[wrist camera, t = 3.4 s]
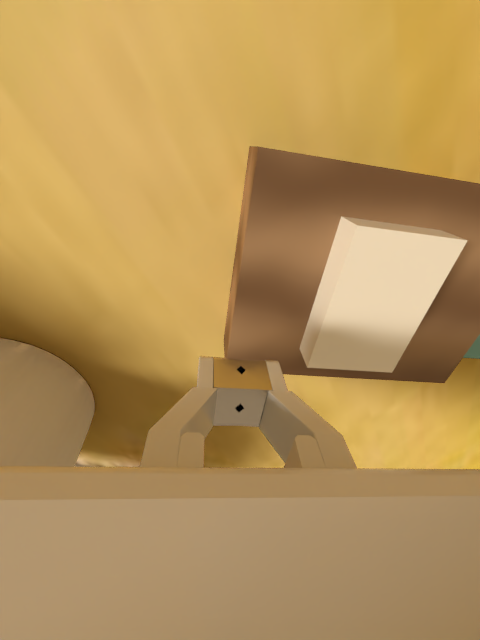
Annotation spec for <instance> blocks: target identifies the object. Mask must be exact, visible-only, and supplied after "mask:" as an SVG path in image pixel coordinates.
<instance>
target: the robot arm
mask: <svg viewBox="0 0 480 640" xmlns="http://www.w3.org/2000/svg"><path fill="white" fill-rule="evenodd" d="M213 426H252V427H259V429H260V430H261V431H262V433H263V434H264V435H265V437H266V438H267V439H268V441H269V442H270V443H271V445H272V446H273V447H274V449H275V450H276V451H277V453H278V454H279V456H280V457H281V458H282V460H283V461H284V462H285V466H284V468H204V439H205V438H206V437H207V435H208V434H209V432H210V431H211V429H212V428H213ZM0 640H480V469H357V467H356V465H355V463H354V460H353V458H352V456H351V454H350V451H349V449H348V447H347V445H346V442H345V440H344V438H343V436H342V435H341V434H340V433H339V432H338V431H337V430H336V429H335V428H333V427H332V426H331V425H330V424H329V423H328V422H326V421H325V420H324V419H323V418H322V417H321V416H319V415H318V414H317V413H316V412H315V411H314V410H313V409H311V408H310V407H309V406H308V405H307V404H306V403H304V402H303V401H302V400H301V399H300V398H299V397H298V396H296V395H295V394H294V393H293V392H292V391H288V390H287V387H286V383H285V380H284V377H283V374H282V370H281V367H280V364H279V362H278V361H272V360H265V361H263V360H244V359H232V358H220V357H205V356H200V357H199V367H198V379H197V387H192V388H191V389H190V390H189V391H188V392H187V393H186V394H185V395H184V396H183V397H182V398H181V399H180V400H179V401H178V402H177V403H176V404H175V405H174V406H173V407H172V408H171V409H170V410H169V411H168V412H167V413H166V414H165V415H164V416H163V417H162V418H161V419H160V420H159V421H158V422H157V423H156V424H155V425H154V426H152V427H151V428H150V429H149V431H148V435H147V439H146V443H145V447H144V451H143V455H142V459H141V463H140V467H45V466H0Z"/></svg>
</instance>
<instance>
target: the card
mask: <svg viewBox="0 0 480 640" xmlns="http://www.w3.org/2000/svg"><path fill="white" fill-rule="evenodd" d="M467 241H468V240H465V239H463V238H460V237H458V236H455V235H452V234H450V233H447V232H444V231H442V230H436V229H429V228H422V227H415V226H407V225H400V224H393V223H386V222H379V221H371V220H364V219H357V218H350V217H342V216H341V219H340V222H339V225H338V228H337V232H336V235H335V238H334V241H333V244H332V247H331V250H330V254H329V257H328V260H327V263H326V266H325V269H324V272H323V276H322V279H321V282H320V285H319V288H318V291H317V295H316V298H315V301H314V304H313V307H312V310H311V313H310V317H309V320H308V323H307V326H306V329H305V332H304V335H303V339H302V342H301V345H300V348H299V349H300V351H301V354H302V356H303V358H304V361H305V363H306V366H307V368H323V369H340V370H356V371H373V372H390V373H392V372H393V370H394V368H395V367H396V365H397V363H398V361H399V360H400V358H401V356H402V354H403V353H404V351H405V349H406V347H407V346H408V344H409V342H410V340H411V339H412V337H413V335H414V333H415V332H416V330H417V328H418V326H419V325H420V323H421V321H422V319H423V318H424V316H425V314H426V312H427V311H428V309H429V307H430V305H431V304H432V302H433V300H434V299H435V297H436V295H437V293H438V292H439V290H440V288H441V286H442V285H443V283H444V281H445V279H446V278H447V276H448V274H449V272H450V271H451V269H452V267H453V265H454V264H455V262H456V260H457V258H458V257H459V255H460V253H461V251H462V250H463V248H464V246H465V244H466V243H467Z"/></svg>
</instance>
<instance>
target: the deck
mask: <svg viewBox="0 0 480 640" xmlns="http://www.w3.org/2000/svg"><path fill="white" fill-rule="evenodd" d="M341 216H342V217H350V218H357V219H364V220H371V221H379V222H386V223H393V224H400V225H407V226H415V227H422V228H429V229H436V230H442V231H444V232H447V233H450V234H452V235H455V236H458V237H460V238H463V239H465V240H468V241H467V243H466V244H465V246H464V248H463V250H462V251H461V253H460V255H459V257H458V258H457V260H456V262H455V264H454V265H453V267H452V269H451V271H450V272H449V274H448V276H447V278H446V279H445V281H444V283H443V285H442V286H441V288H440V290H439V292H438V293H437V295H436V297H435V299H434V300H433V302H432V304H431V305H430V307H429V309H428V311H427V312H426V314H425V316H424V318H423V319H422V321H421V323H420V325H419V326H418V328H417V330H416V332H415V333H414V335H413V337H412V339H411V340H410V342H409V344H408V346H407V347H406V349H405V351H404V353H403V354H402V356H401V358H400V360H399V361H398V363H397V365H396V367H395V368H394V370H393V372H392V373H390V372H373V371H356V370H340V369H323V368H307V366H306V363H305V361H304V358H303V356H302V354H301V351H300V349H299V348H300V345H301V342H302V339H303V335H304V332H305V329H306V326H307V323H308V320H309V317H310V313H311V310H312V307H313V304H314V301H315V298H316V295H317V291H318V288H319V285H320V282H321V279H322V276H323V272H324V269H325V266H326V263H327V260H328V257H329V254H330V250H331V247H332V244H333V241H334V238H335V235H336V232H337V228H338V225H339V222H340V219H341ZM479 335H480V184H478V183H472V182H466V181H460V180H454V179H448V178H442V177H436V176H430V175H424V174H418V173H412V172H406V171H400V170H394V169H388V168H382V167H376V166H370V165H364V164H358V163H352V162H346V161H340V160H334V159H328V158H322V157H316V156H310V155H304V154H299V153H293V152H287V151H281V150H275V149H269V148H263V147H251V146H250V148H249V156H248V163H247V171H246V178H245V185H244V193H243V200H242V208H241V215H240V223H239V230H238V238H237V245H236V252H235V260H234V267H233V275H232V282H231V290H230V297H229V305H228V312H227V319H226V327H225V334H224V354H225V358H232V359H244V360H263V361H265V360H272V361H278V362H279V364H280V367H281V370H282V374H290V375H308V376H326V377H344V378H362V379H380V380H398V381H416V382H434V383H445V381H446V380H447V379H448V377H449V376H450V375H451V373H452V372H453V370H454V369H455V368H456V366H457V365H458V364H459V362H460V361H461V359H462V358H463V357H464V355H465V354H466V352H467V351H468V350H469V348H470V347H471V346H472V344H473V343H474V341H475V340H476V339H477V337H478V336H479Z"/></svg>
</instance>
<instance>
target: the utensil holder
mask: <svg viewBox="0 0 480 640" xmlns="http://www.w3.org/2000/svg"><path fill="white" fill-rule="evenodd" d="M94 411H95V402H94V397H93V393H92V391H91V389H90V387H89V385H88V384H87V382H86V381H85V380H84V378H83V377H82V376H81V375H80V374H79V373H78V372H77V371H76V370H75V369H74V368H72V367H71V366H70V365H69V364H67V363H66V362H65V361H63V360H62V359H60V358H58V357H57V356H55V355H53V354H51V353H49V352H47V351H45V350H42V349H40V348H38V347H35V346H32V345H29V344H26V343H22V342H18V341H14V340H9V339H3V338H0V466H45V467H74V466H75V464H76V461H77V459H78V456H79V453H80V451H81V448H82V445H83V443H84V440H85V438H86V435H87V433H88V430H89V427H90V425H91V422H92V419H93V416H94Z"/></svg>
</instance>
